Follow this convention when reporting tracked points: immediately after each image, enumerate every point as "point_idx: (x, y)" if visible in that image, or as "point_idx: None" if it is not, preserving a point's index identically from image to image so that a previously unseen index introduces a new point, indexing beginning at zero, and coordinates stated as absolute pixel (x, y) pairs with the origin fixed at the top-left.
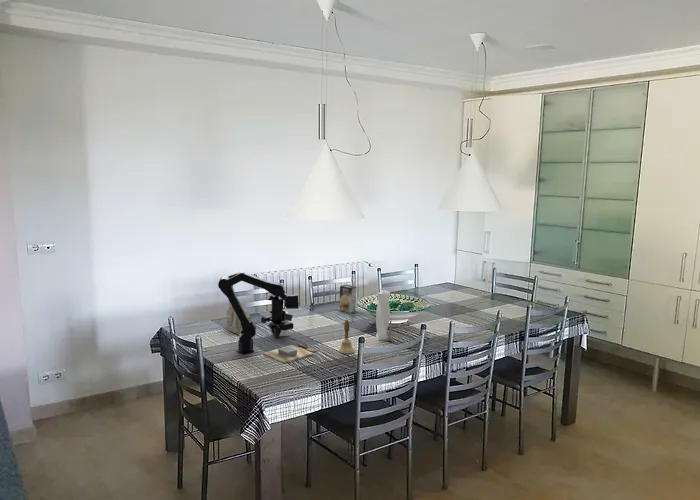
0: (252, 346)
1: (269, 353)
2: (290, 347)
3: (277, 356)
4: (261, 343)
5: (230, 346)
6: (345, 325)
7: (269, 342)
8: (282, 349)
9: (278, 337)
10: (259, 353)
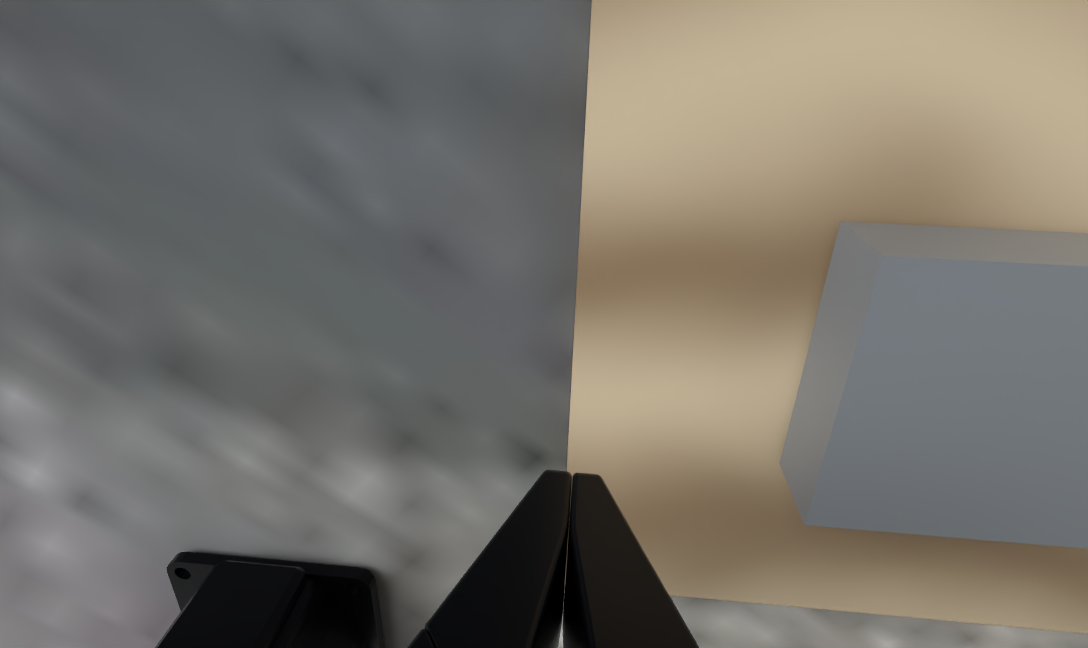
0: (293, 631)
1: (660, 552)
2: (1016, 271)
3: (881, 562)
4: (31, 246)
5: (7, 619)
6: None
7: (25, 69)
8: (910, 491)
9: (621, 522)
10: None
